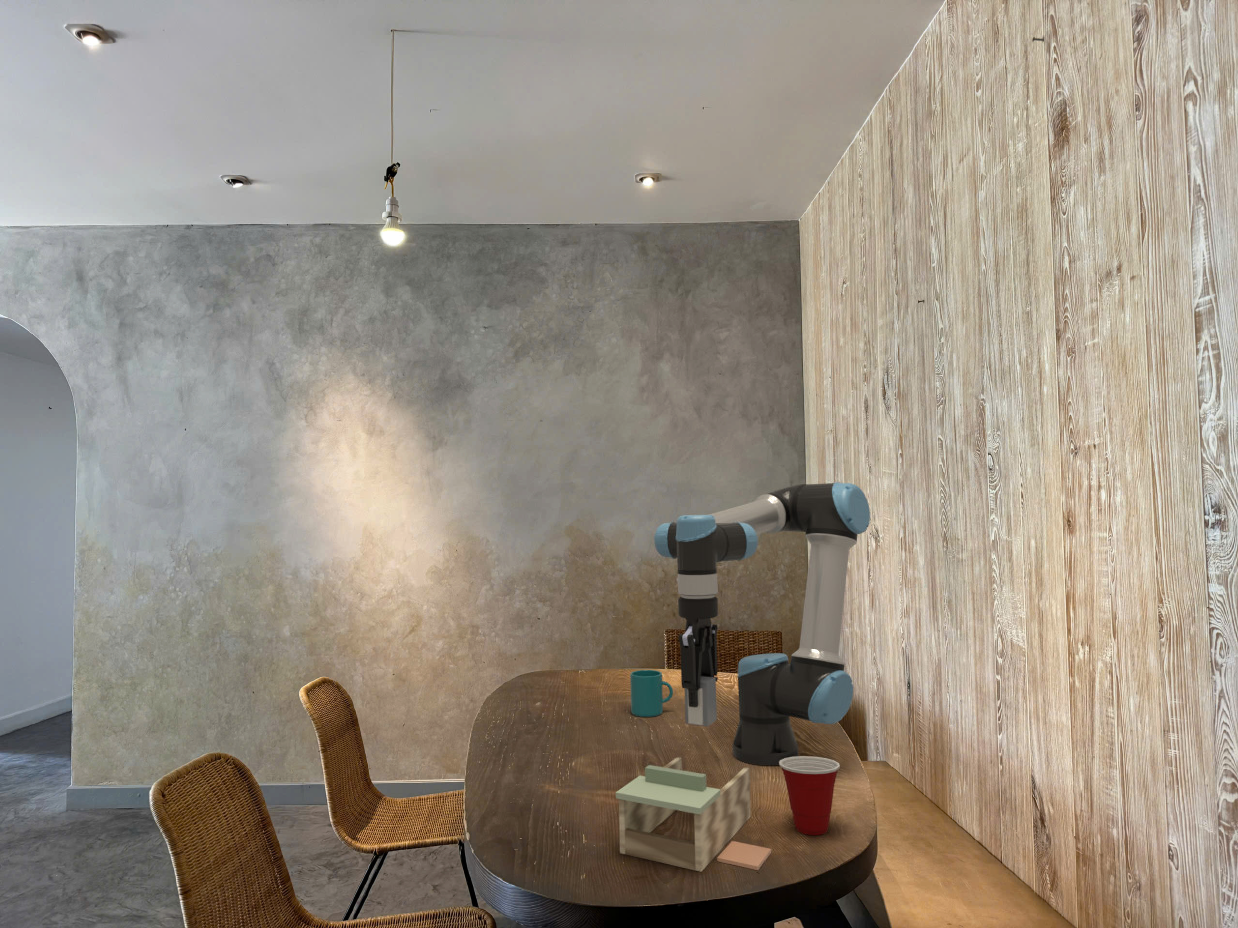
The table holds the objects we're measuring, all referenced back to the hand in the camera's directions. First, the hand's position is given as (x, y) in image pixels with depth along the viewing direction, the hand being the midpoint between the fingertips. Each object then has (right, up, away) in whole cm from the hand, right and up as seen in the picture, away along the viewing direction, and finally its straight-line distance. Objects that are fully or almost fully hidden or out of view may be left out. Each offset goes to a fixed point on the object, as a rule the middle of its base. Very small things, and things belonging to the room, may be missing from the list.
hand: (701, 719), depth 145 cm
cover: (-7, -9, -14) cm, 18 cm away
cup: (-6, -22, +72) cm, 76 cm away
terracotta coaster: (+6, -18, -16) cm, 25 cm away
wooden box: (-3, -18, -7) cm, 20 cm away
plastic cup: (+19, -18, -6) cm, 27 cm away
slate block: (0, 0, 0) cm, 0 cm away
